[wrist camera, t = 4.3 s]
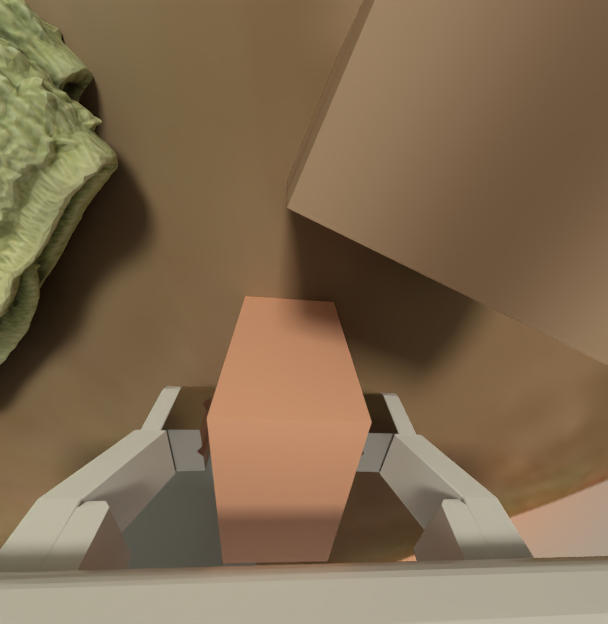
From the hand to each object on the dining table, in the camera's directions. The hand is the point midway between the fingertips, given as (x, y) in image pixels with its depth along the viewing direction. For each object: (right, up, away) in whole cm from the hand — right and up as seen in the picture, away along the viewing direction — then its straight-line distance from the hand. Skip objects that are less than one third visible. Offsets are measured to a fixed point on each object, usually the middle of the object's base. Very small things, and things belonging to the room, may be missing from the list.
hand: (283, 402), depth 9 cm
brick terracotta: (0, +1, +2) cm, 2 cm away
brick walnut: (+4, +7, -1) cm, 8 cm away
